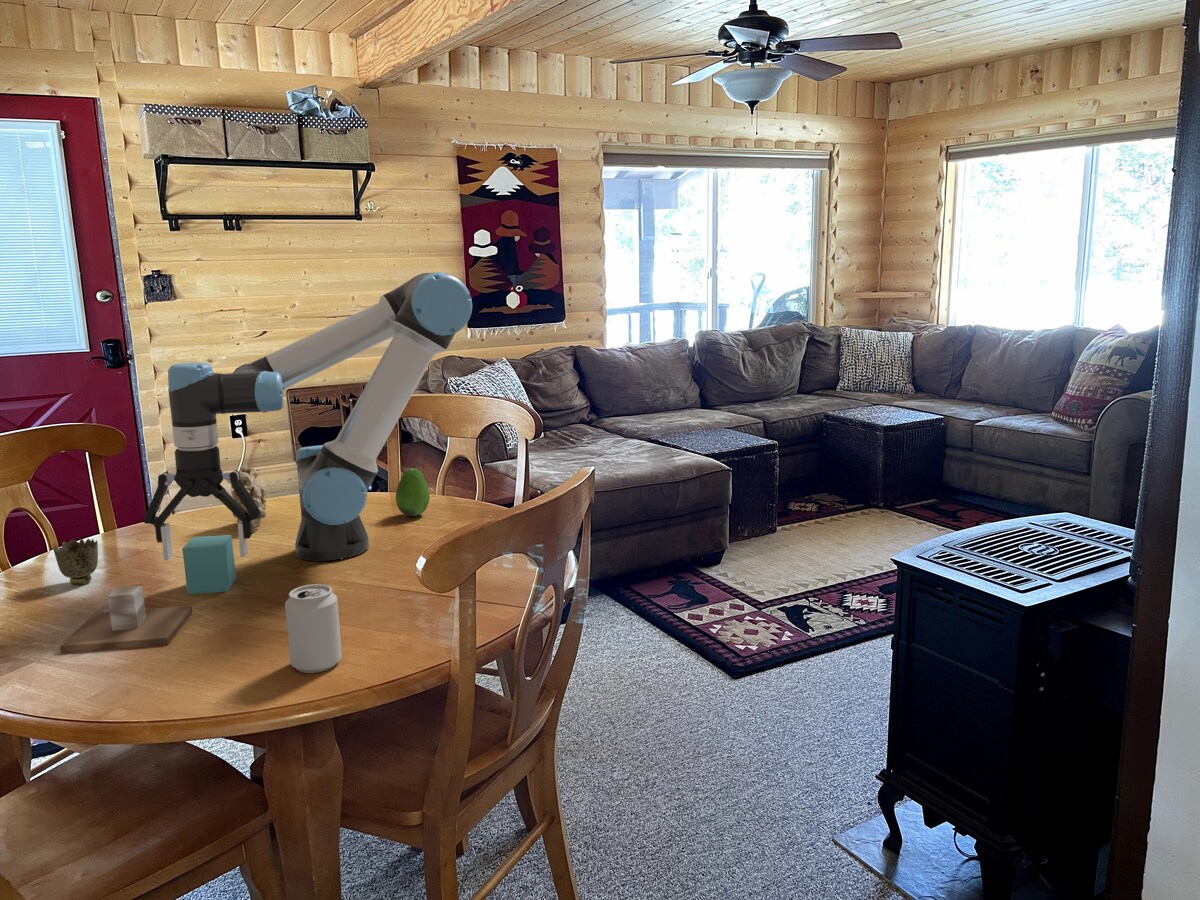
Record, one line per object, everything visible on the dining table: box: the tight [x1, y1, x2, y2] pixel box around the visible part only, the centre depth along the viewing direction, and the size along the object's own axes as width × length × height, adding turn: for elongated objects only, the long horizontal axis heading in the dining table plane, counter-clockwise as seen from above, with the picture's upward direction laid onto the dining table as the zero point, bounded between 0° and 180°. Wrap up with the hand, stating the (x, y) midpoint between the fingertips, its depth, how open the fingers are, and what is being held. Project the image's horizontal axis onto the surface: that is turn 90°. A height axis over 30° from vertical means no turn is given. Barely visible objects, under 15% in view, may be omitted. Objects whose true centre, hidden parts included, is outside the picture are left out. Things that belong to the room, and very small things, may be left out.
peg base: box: [59, 585, 194, 654], centre depth 146 cm, size 16×14×7 cm
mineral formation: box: [230, 465, 267, 533], centre depth 205 cm, size 8×13×15 cm, turn 31°
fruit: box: [395, 467, 431, 517], centre depth 213 cm, size 8×8×12 cm
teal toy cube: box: [182, 534, 237, 595], centre depth 167 cm, size 7×7×9 cm
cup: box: [52, 538, 99, 586], centre depth 170 cm, size 8×7×8 cm
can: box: [284, 583, 342, 674], centre depth 133 cm, size 8×8×12 cm
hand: (206, 556), depth 166 cm, fingers open, 13 cm apart
